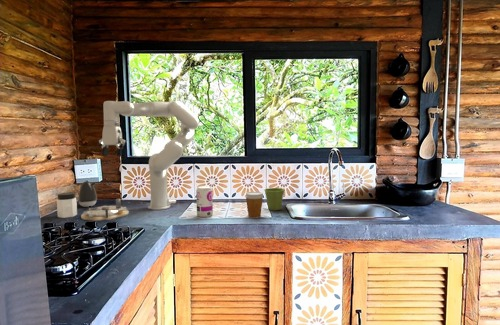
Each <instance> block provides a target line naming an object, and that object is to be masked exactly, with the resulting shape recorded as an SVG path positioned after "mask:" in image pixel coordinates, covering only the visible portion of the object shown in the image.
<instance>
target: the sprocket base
mask: <svg viewBox="0 0 500 325" xmlns="http://www.w3.org/2000/svg"><path fill="white" fill-rule="evenodd" d="M105 212H106V217H105V216H99V217H89V216H88V215H84V212H83V213H82V214H80V217H81V219H82V220H83V221H87V222H88V221H91V222H98V221H99V222H101V221H110V220H115V219H121V218H124V217H126V216H128V215H129V214H130V213H129V212H130V211H129V209H128V208H126V211H123V213H122V214H116V215H110V216H108V209H106V210H105Z"/></svg>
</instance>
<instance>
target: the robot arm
mask: <svg viewBox="0 0 500 325" xmlns="http://www.w3.org/2000/svg"><path fill="white" fill-rule="evenodd" d="M120 115H121V116H123V117H149V118H151V117H153V118H154V117H156V118H157V117H158V118H160V117H162V118H163V117H164V118H165V117H166V118H167V117H168V118H174V117H175V119H177V120H178V121H179V122H180V127H181V128H180V131H179V132H178V134H176V136H174V137H173V138H171V140H169V141H168V142H167V143H166V144H165V145H164V147H163V149H162V150H160V152H158V153H154V154H152V155H151V156H150V157H149V160H148V169H149V170H148V171H149V188H150V189H149V191H150V205H148V206H147V208H148V209H149V210H154V211H155V210H157V211H158V210H165V209H166V210H167V209H169V208H171V206H172V205H171V204H176V203H177V200H176V199H169V197H168V173H167V170H168V169H169V168H170V167H171V166H172V165H174V164H175V163H176V162H177V161H178V160H179V159H180V158H181V157H182V156H183V154H184V149H185V148H187V146H189V144H190V143H191V142H192V141H193V139H194V136H195V133H196V132H195V130H196V129H198V126H199V124H200V123H199V118H198V117H197V115H195V113H194V112H192V111H191V110H190V109H189V108H188V107H186V105H185V104H183V103H182V102H181V101H179V100H174V101H148V102H140V103H139V102H137V103H136V102H135V103H134V102H133V103H132V102H130V101H127V100H123V101H115V100H106V101H104V102H103V128H102V134H101V135H102V138H101V139H99V140H98V143H99V145H100V147H101V149H102V157H104V156H106V157H107V156H108V155H109V146H116V148H117V149H116V157H122V156H123V149H124V146H125V145H126V140H125V139H123V132H122V128H121V126H120V125H121V122H120V119H119V118H120Z"/></svg>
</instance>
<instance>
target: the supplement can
mask: <svg viewBox="0 0 500 325" xmlns="http://www.w3.org/2000/svg"><path fill="white" fill-rule="evenodd" d="M195 191H196V197H195V198H196V199H195V200H196V215H197V216H198V217H200V218H209V217H212V215H213V211H214V210H213V207H214V206H213V189H212V186H210V185H209V186H208V185H202V186H197V187H196V190H195Z"/></svg>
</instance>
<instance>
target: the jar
mask: <svg viewBox="0 0 500 325" xmlns="http://www.w3.org/2000/svg"><path fill="white" fill-rule="evenodd" d="M56 212H57V218H59V219H60V218H61V219H66V218H74V217H75V216H77V215H78V205H77V197H76V193H75V192H74V191H73V192H71V191H70V192H69V191H68V192H67V191H66V192H60V193H58V194H57V199H56Z"/></svg>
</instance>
